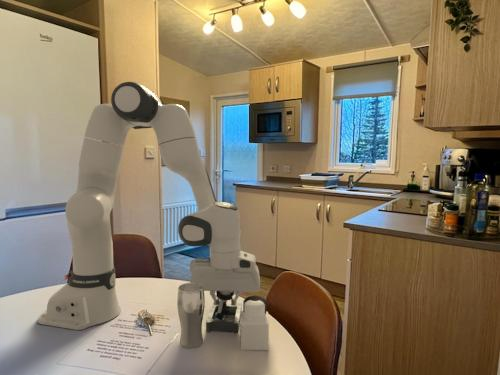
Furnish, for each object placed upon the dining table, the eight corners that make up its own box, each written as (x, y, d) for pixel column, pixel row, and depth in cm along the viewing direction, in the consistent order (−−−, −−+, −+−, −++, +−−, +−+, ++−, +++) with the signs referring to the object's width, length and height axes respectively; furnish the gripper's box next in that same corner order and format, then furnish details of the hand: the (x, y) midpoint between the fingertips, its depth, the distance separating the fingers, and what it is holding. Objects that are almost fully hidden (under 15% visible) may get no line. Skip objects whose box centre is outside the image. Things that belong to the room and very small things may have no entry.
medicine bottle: (241, 335, 92) (241, 292, 91) (267, 335, 92) (268, 293, 91) (240, 350, 85) (240, 304, 84) (268, 351, 85) (269, 305, 84)
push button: (221, 329, 96) (228, 297, 94) (205, 321, 97) (211, 290, 96) (231, 318, 102) (237, 288, 100) (215, 311, 104) (221, 282, 102)
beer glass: (192, 353, 84) (192, 295, 82) (172, 344, 87) (171, 288, 86) (210, 340, 90) (210, 285, 88) (190, 332, 93) (189, 280, 92)
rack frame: (206, 332, 93) (206, 322, 93) (213, 312, 105) (213, 303, 105) (238, 333, 93) (238, 323, 93) (241, 313, 105) (241, 304, 104)
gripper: (187, 261, 95) (187, 308, 96) (260, 262, 94) (259, 310, 95) (192, 254, 101) (192, 299, 102) (260, 255, 100) (260, 300, 101)
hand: (225, 304), depth 99 cm, fingers closed on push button, 4 cm apart
